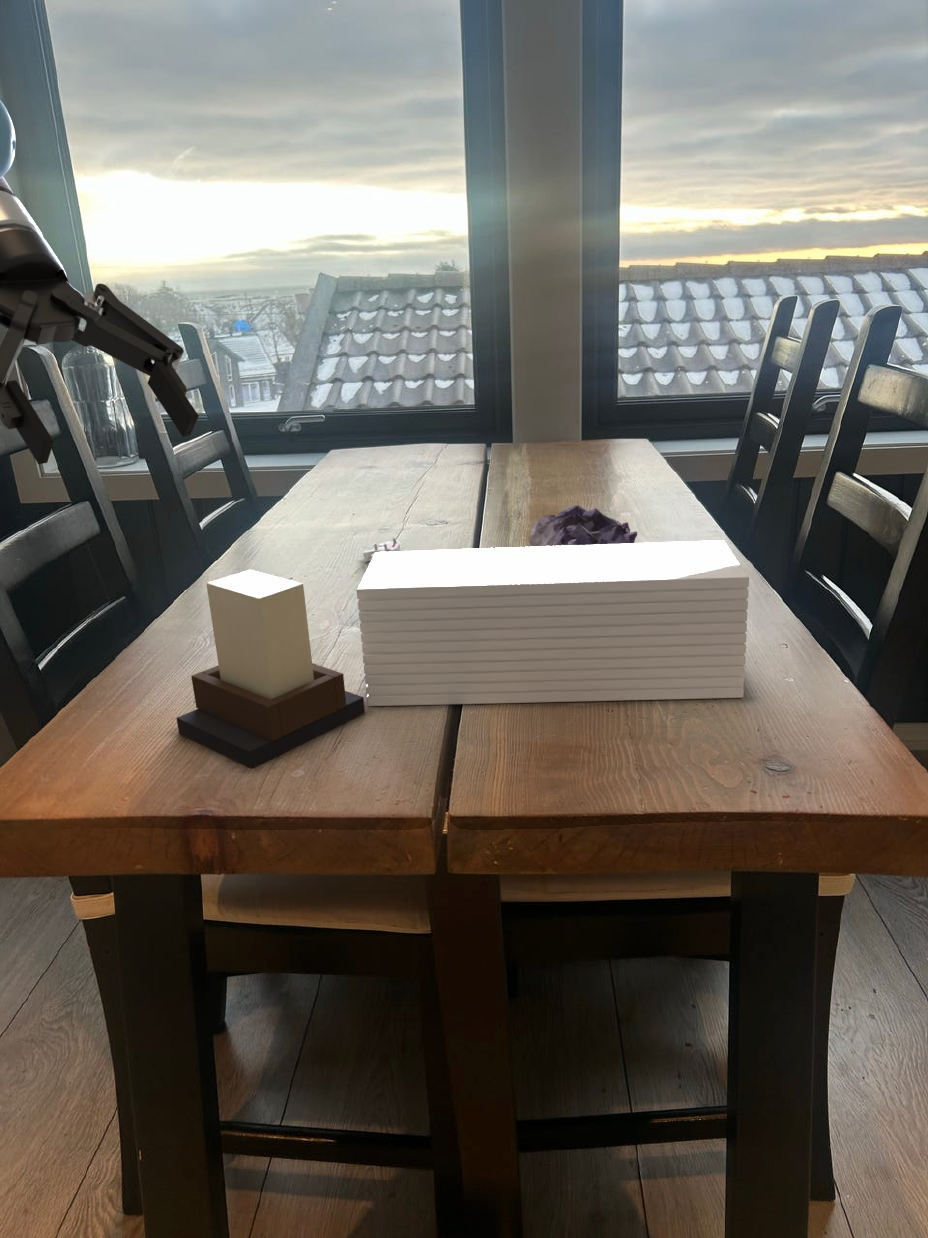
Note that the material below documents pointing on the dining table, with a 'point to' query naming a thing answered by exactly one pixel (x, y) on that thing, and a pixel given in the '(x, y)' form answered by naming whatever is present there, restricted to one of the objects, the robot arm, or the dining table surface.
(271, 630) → the cream rectangular block
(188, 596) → the dining table surface
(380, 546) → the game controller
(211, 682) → the square socket base
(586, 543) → the geode
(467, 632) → the stack of papers
